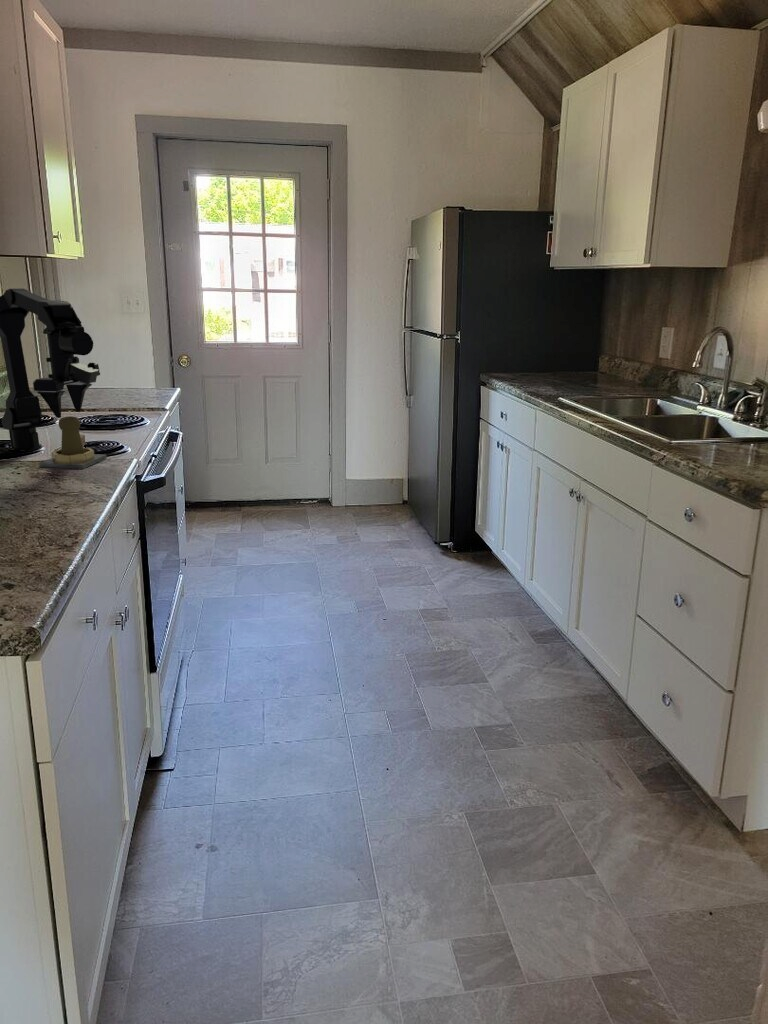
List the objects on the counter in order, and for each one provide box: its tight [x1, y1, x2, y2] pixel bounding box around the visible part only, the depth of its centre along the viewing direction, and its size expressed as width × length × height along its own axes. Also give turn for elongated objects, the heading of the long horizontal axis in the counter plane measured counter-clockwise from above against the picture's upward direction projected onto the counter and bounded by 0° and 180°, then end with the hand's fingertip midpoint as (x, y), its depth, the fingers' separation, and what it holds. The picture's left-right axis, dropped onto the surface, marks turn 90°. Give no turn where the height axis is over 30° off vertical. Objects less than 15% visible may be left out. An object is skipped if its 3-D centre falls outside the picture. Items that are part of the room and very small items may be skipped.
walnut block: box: [80, 434, 87, 446], centre depth 213 cm, size 5×5×4 cm
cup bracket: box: [38, 447, 108, 470], centre depth 199 cm, size 12×12×3 cm
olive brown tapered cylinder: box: [58, 415, 85, 455], centre depth 198 cm, size 6×6×11 cm
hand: (68, 414), depth 196 cm, fingers open, 9 cm apart
